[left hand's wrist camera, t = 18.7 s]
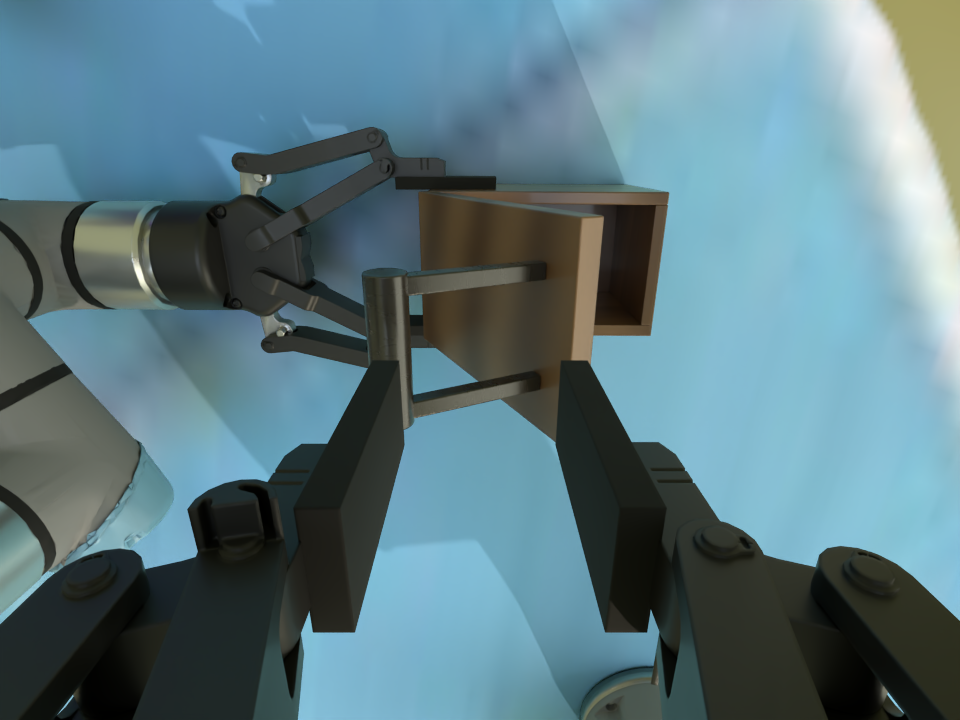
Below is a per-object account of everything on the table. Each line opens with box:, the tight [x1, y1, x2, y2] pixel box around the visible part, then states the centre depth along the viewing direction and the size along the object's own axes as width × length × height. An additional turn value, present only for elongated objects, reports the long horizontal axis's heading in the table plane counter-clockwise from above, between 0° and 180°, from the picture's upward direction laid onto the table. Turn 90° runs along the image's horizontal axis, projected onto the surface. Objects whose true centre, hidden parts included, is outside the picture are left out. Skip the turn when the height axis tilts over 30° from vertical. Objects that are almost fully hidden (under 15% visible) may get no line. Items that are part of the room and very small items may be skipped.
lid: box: [362, 191, 604, 442], centre depth 25 cm, size 16×9×8 cm
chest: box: [429, 184, 669, 336], centre depth 38 cm, size 15×9×10 cm, turn 90°
